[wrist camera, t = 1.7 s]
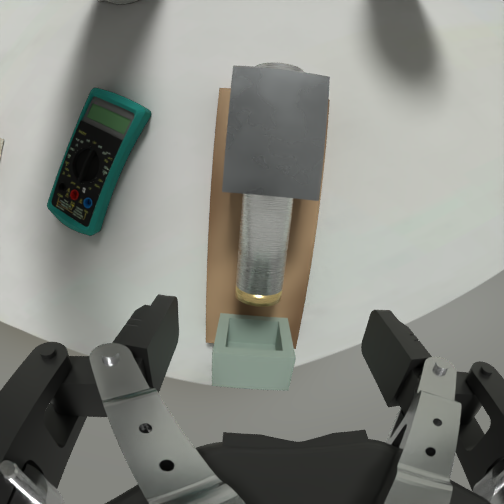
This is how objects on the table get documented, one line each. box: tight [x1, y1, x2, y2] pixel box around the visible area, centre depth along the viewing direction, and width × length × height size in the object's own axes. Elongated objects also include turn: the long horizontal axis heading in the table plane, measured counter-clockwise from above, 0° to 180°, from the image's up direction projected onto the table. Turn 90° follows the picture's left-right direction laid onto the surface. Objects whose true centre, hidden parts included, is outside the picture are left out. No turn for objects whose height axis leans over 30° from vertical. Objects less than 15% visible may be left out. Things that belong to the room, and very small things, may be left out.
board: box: [206, 88, 329, 349], centre depth 27 cm, size 10×26×2 cm, turn 175°
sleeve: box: [222, 66, 330, 201], centre depth 21 cm, size 7×9×7 cm
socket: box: [212, 313, 296, 390], centre depth 27 cm, size 7×4×7 cm, turn 85°
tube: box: [235, 63, 304, 307], centre depth 22 cm, size 4×19×4 cm, turn 175°
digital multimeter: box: [47, 88, 151, 236], centre depth 25 cm, size 7×15×3 cm, turn 150°
